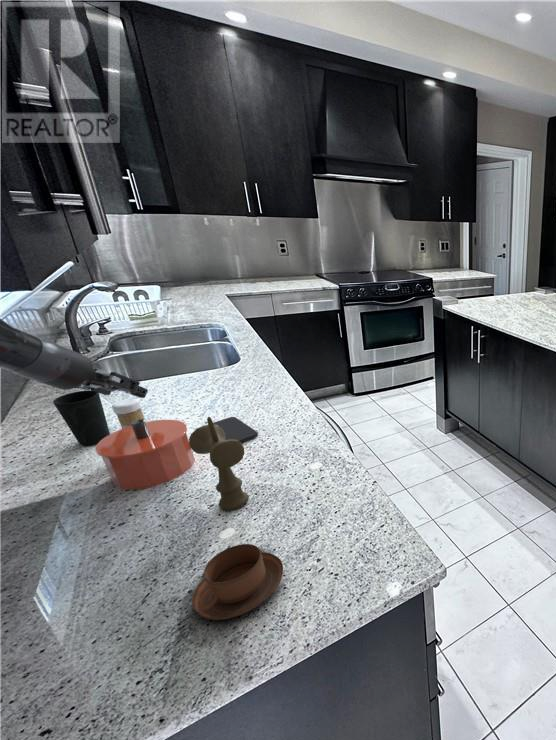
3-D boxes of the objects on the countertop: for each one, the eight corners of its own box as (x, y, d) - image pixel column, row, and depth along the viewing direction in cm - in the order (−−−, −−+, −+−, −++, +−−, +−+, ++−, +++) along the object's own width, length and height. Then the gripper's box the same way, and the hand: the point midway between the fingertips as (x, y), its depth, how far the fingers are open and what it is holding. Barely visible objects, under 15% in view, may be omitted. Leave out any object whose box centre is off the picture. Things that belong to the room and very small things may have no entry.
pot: (202, 476, 89) (189, 440, 85) (119, 504, 80) (101, 465, 76) (190, 451, 98) (178, 416, 94) (114, 473, 89) (98, 436, 85)
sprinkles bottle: (144, 446, 99) (124, 397, 93) (162, 447, 99) (143, 398, 93) (126, 457, 95) (105, 406, 89) (145, 458, 95) (125, 407, 89)
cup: (107, 429, 105) (89, 387, 100) (122, 437, 102) (105, 394, 97) (67, 443, 99) (46, 399, 94) (82, 451, 96) (61, 407, 91)
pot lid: (193, 442, 85) (187, 423, 84) (98, 470, 76) (89, 449, 74) (181, 417, 95) (175, 399, 93) (95, 439, 85) (87, 420, 83)
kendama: (239, 486, 87) (215, 403, 78) (262, 505, 82) (238, 418, 74) (207, 501, 82) (178, 415, 74) (229, 522, 77) (200, 432, 69)
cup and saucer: (263, 624, 59) (254, 595, 56) (176, 629, 58) (162, 599, 55) (297, 559, 70) (290, 531, 67) (224, 561, 69) (214, 534, 66)
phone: (233, 415, 112) (259, 432, 105) (234, 418, 113) (260, 435, 105) (202, 426, 107) (227, 444, 99) (203, 428, 107) (228, 447, 99)
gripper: (93, 348, 78) (163, 379, 93) (25, 343, 78) (105, 375, 94) (74, 384, 75) (150, 410, 90) (4, 378, 76) (90, 405, 91)
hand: (127, 392), depth 92 cm, fingers open, 8 cm apart
